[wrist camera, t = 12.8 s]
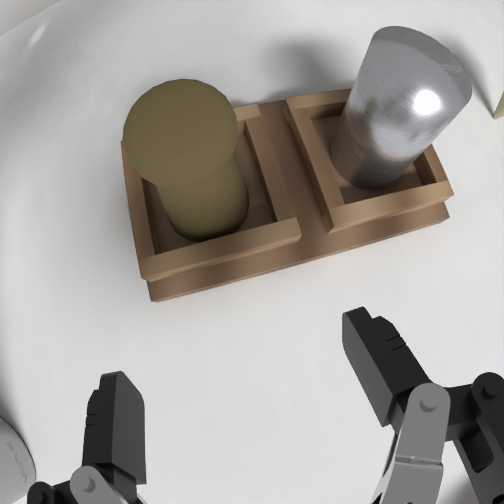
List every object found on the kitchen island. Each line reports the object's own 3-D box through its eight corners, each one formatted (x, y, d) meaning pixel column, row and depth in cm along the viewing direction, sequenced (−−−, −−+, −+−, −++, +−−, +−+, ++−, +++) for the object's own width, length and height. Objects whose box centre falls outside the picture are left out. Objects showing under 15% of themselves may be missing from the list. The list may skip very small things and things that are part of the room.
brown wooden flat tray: (157, 302, 23) (141, 299, 19) (130, 150, 25) (116, 129, 22) (440, 222, 24) (462, 209, 21) (383, 96, 26) (395, 74, 23)
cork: (159, 177, 23) (101, 84, 12) (237, 155, 23) (227, 47, 13) (174, 254, 22) (108, 197, 11) (259, 230, 22) (265, 152, 11)
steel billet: (345, 198, 23) (407, 112, 12) (318, 129, 24) (351, 25, 13) (411, 182, 23) (489, 107, 12) (382, 119, 24) (434, 29, 13)
